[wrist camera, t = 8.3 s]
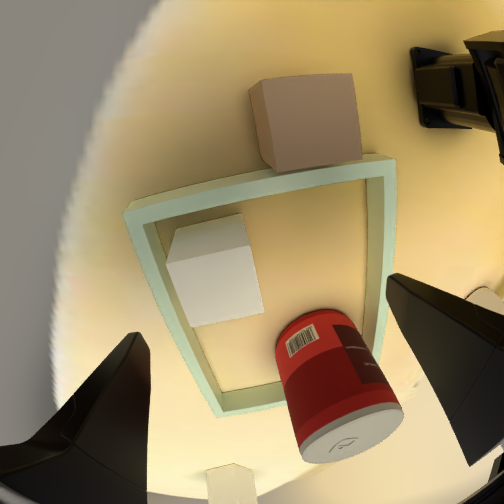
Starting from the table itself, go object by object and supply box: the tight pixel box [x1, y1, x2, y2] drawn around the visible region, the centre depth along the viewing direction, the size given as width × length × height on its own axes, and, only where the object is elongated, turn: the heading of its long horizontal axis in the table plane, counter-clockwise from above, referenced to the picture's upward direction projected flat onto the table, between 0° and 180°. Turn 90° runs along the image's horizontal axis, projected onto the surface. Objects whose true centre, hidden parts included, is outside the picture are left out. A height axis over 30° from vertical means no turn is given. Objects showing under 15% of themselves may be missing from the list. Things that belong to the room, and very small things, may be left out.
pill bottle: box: [466, 288, 504, 315], centre depth 22 cm, size 8×8×15 cm
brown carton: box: [249, 74, 363, 173], centre depth 14 cm, size 4×4×5 cm
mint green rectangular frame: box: [122, 153, 397, 418], centre depth 22 cm, size 17×22×2 cm
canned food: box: [275, 310, 404, 464], centre depth 20 cm, size 8×8×11 cm
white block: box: [166, 213, 265, 328], centre depth 18 cm, size 4×4×5 cm
